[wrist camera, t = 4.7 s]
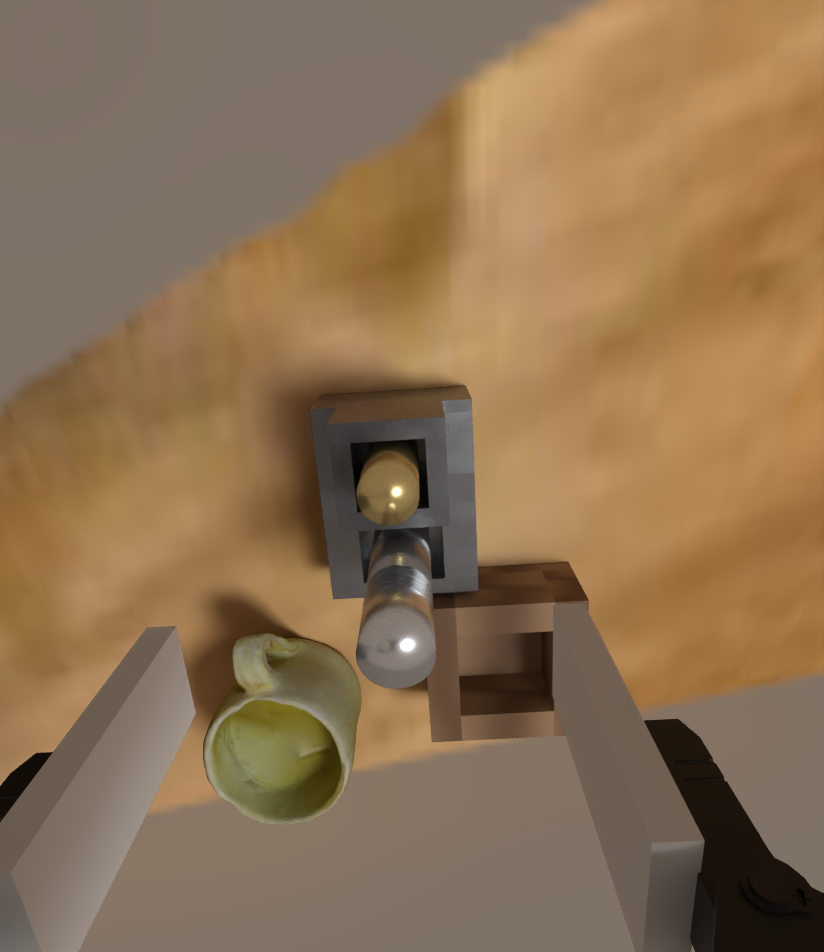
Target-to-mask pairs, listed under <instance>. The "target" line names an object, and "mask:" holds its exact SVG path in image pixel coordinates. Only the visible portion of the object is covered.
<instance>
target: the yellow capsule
mask: <svg viewBox="0 0 824 952" xmlns="http://www.w3.org/2000/svg"><path fill="white" fill-rule="evenodd" d="M356 496H357V503H358V506H359V508H360V510H361V511H362V513H363V514H364V515H365V516H366V517H367V518H368V519H370V520H371V521H373V522H375V523H378V524H381V525H395V524H399V523H402V522H404V521H405V520H407V519H408V518H410V517H411V516H412V515H413V513H414V512H415V510H416V509H417V506H418V503H419V450H418V445H417V442H416V440H415V439H408V440H392V441H376V442H370V443H369V446H368V450H367V454H366V458H365V461H364V465H363V469H362V473H361V477H360V480H359V484H358V488H357V494H356Z"/></svg>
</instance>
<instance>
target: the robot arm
mask: <svg viewBox="0 0 824 952" xmlns="http://www.w3.org/2000/svg"><path fill="white" fill-rule="evenodd" d="M552 695H553V698H554V702H555V705H556V708H557V711H558V714H559V717H560V720H561V723H562V726H563V729H564V732H565V735H566V738H567V742H568V745H569V748H570V751H571V754H572V757H573V760H574V763H575V766H576V769H577V772H578V776H579V779H580V782H581V785H582V788H583V791H584V794H585V797H586V800H587V803H588V806H589V810H590V813H591V816H592V819H593V822H594V825H595V828H596V831H597V834H598V837H599V840H600V843H601V846H602V850H603V853H604V856H605V859H606V862H607V865H608V868H609V871H610V874H611V877H612V880H613V884H614V887H615V890H616V893H617V896H618V899H619V902H620V905H621V908H622V911H623V914H624V918H625V921H626V924H627V927H628V930H629V933H630V936H631V939H632V942H633V945H634V948H635V951H636V952H691V947H692V945H693V947H694V950H695V952H824V893H822V892H820V891H818V890H816V889H814V888H812V887H811V886H810V885H809V883H808V882H807V881H806V879H805V878H804V877H802V876H801V875H800V874H799V873H798V872H796V871H795V870H794V869H793V868H792V867H790V866H789V865H788V864H786V863H784V862H782V861H780V860H778V859H776V858H774V857H773V855H772V854H771V852H770V851H769V850H768V848H767V847H766V845H765V843H764V842H763V840H762V838H761V837H760V835H759V833H758V832H757V830H756V828H755V827H754V825H753V824H752V822H751V820H750V819H749V817H748V815H747V814H746V812H745V811H744V809H743V807H742V806H741V804H740V802H739V801H738V799H737V797H736V796H735V794H734V792H733V791H732V789H731V788H730V786H729V784H728V783H727V782H725V780H724V776H723V774H722V773H721V771H720V770H719V768H718V766H717V765H716V763H714V762H713V758H712V756H711V755H710V753H709V751H708V750H707V748H706V747H705V745H704V743H703V742H702V740H701V738H700V737H699V736H697V734H695V733H694V732H693V731H692V730H690V729H689V728H688V727H687V726H686V725H685V724H684V723H682V722H681V721H680V720H679V719H665V720H646V721H644V720H643V718H642V717H641V715H640V713H639V711H638V709H637V707H636V705H635V703H634V701H633V699H632V697H631V695H630V693H629V691H628V689H627V687H626V685H625V683H624V681H623V679H622V677H621V675H620V673H619V671H618V669H617V667H616V665H615V663H614V661H613V659H612V658H611V656H610V654H609V652H608V650H607V648H606V646H605V644H604V642H603V640H602V638H601V636H600V634H599V632H598V630H597V628H596V626H595V624H594V622H593V620H592V618H591V616H590V614H589V612H588V610H587V608H586V606H585V604H584V603H578V604H560V605H553V686H552ZM195 715H196V712H195V707H194V703H193V698H192V694H191V690H190V685H189V681H188V676H187V672H186V667H185V663H184V659H183V654H182V650H181V645H180V641H179V636H178V632H177V628H176V626H168V627H150V628H146V629H145V631H144V632H143V633H142V635H141V636H140V637H139V639H138V640H137V641H136V643H135V644H134V645H133V647H132V648H131V649H130V651H129V652H128V653H127V655H126V656H125V657H124V659H123V660H122V661H121V663H120V664H119V665H118V667H117V668H116V669H115V671H114V672H113V673H112V675H111V676H110V677H109V679H108V680H107V681H106V683H105V684H104V685H103V687H102V688H101V689H100V691H99V692H98V693H97V695H96V696H95V697H94V698H93V700H92V701H91V702H90V704H89V705H88V706H87V708H86V709H85V710H84V712H83V713H82V714H81V716H80V717H79V718H78V720H77V721H76V722H75V724H74V725H73V726H72V728H71V729H70V730H69V732H68V733H67V734H66V736H65V737H64V738H63V740H62V741H61V742H60V744H59V745H58V746H57V748H56V749H55V750H54V752H47V753H36V754H34V755H33V756H32V757H31V758H29V759H28V760H27V761H26V762H24V763H23V764H22V765H20V766H19V767H18V768H17V769H15V770H14V771H13V772H12V773H10V775H9V776H8V777H7V778H6V780H5V781H4V782H3V783H2V785H1V786H0V952H78V951H79V949H80V947H81V945H82V943H83V941H84V939H85V937H86V935H87V933H88V931H89V929H90V927H91V925H92V923H93V921H94V919H95V916H96V914H97V913H98V911H99V908H100V907H101V904H102V902H103V900H104V898H105V896H106V894H107V892H108V890H109V888H110V886H111V884H112V882H113V880H114V878H115V876H116V874H117V872H118V870H119V868H120V866H121V864H122V862H123V860H124V858H125V856H126V854H127V852H128V850H129V848H130V846H131V844H132V842H133V839H134V838H135V836H136V834H137V832H138V830H139V828H140V826H141V824H142V822H143V820H144V818H145V816H146V814H147V812H148V810H149V807H150V805H151V803H152V801H153V799H154V797H155V795H156V793H157V791H158V789H159V787H160V785H161V783H162V781H163V779H164V777H165V775H166V773H167V771H168V769H169V767H170V765H171V763H172V761H173V759H174V757H175V755H176V753H177V751H178V749H179V747H180V745H181V743H182V741H183V739H184V737H185V735H186V733H187V731H188V729H189V727H190V725H191V723H192V721H193V719H194V717H195Z"/></svg>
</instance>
